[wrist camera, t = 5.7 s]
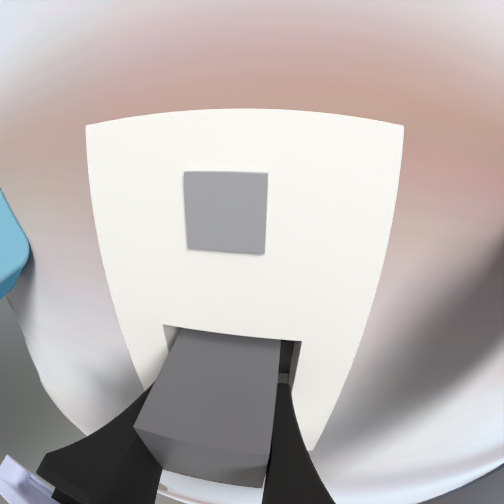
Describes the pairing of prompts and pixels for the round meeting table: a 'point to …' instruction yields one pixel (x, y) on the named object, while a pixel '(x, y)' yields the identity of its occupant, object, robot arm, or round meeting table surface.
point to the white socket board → (247, 234)
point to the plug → (213, 407)
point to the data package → (10, 248)
